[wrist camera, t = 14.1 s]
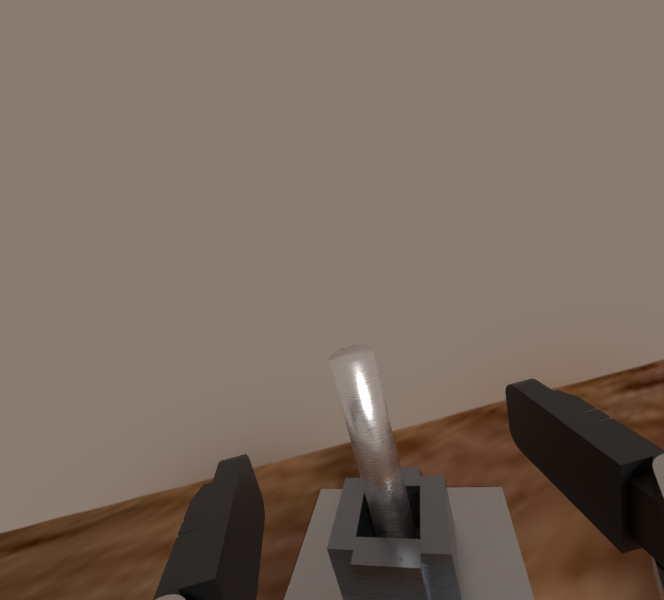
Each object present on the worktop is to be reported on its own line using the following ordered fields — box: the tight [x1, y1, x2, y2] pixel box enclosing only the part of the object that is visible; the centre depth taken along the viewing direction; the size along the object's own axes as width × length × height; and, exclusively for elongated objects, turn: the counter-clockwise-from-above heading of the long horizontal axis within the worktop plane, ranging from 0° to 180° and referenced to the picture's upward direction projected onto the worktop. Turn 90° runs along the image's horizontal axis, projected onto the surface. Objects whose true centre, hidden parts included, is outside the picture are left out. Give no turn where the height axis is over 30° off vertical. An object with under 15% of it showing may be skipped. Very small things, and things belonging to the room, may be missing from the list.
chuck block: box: [284, 468, 534, 600], centre depth 24 cm, size 16×12×5 cm
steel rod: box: [329, 345, 418, 539], centre depth 23 cm, size 3×3×16 cm
